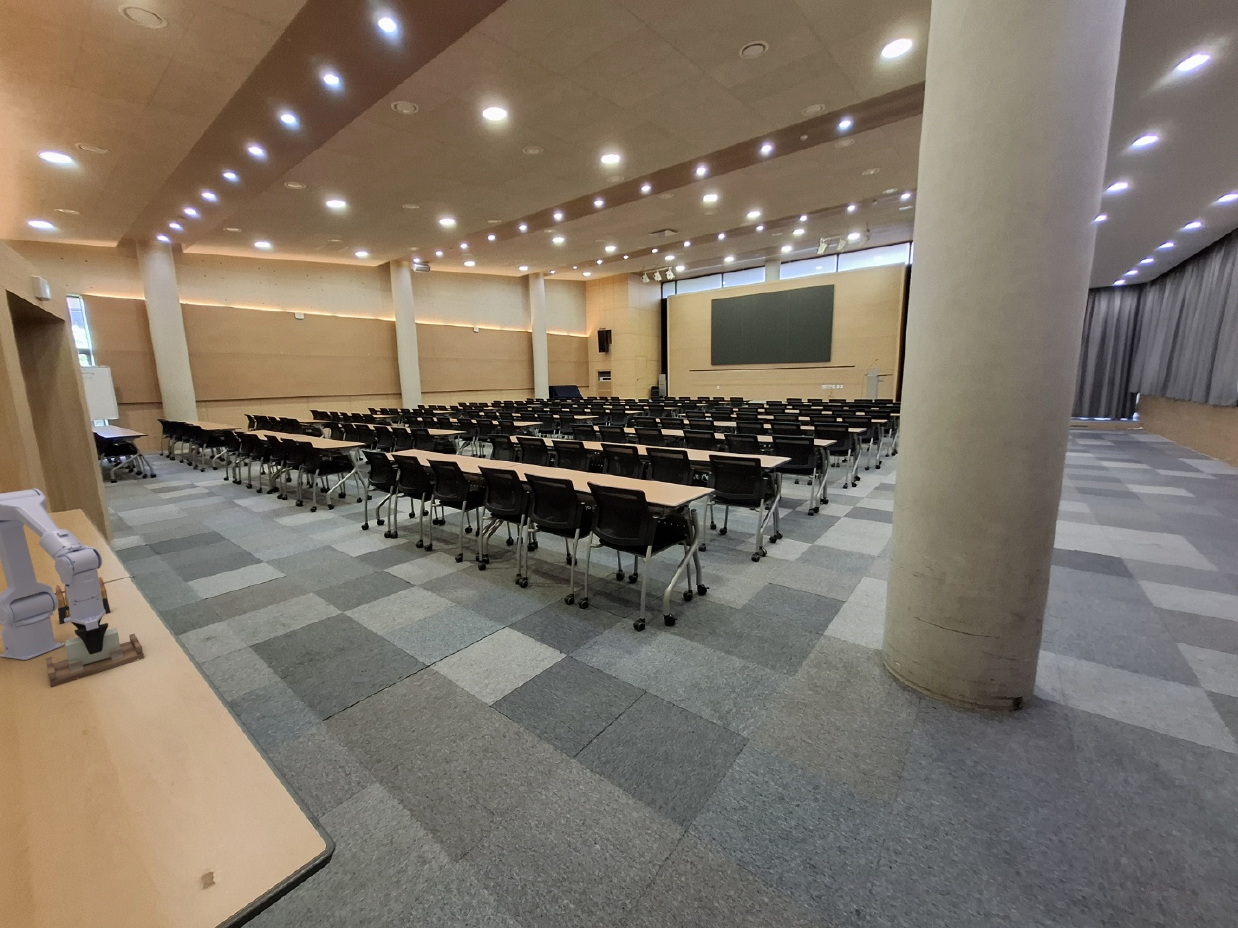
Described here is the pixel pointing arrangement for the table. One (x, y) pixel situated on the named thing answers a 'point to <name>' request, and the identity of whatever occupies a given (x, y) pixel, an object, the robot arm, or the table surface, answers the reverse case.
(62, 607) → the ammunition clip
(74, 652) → the tapered sage green block
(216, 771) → the table surface
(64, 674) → the brown wooden holder
